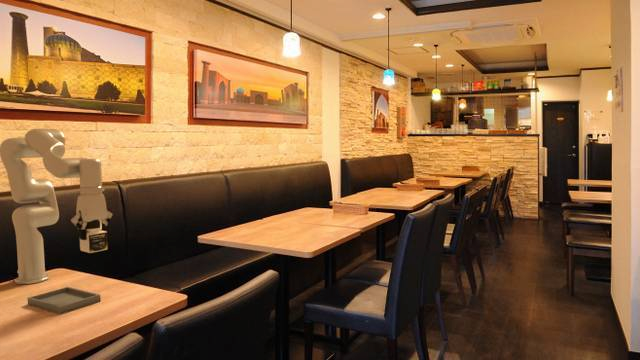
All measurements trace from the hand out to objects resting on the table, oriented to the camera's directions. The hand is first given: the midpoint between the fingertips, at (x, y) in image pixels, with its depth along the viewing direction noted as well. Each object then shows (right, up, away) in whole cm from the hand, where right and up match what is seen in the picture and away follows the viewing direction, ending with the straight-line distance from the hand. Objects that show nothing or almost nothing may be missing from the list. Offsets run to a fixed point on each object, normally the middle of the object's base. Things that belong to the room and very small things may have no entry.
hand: (93, 237), depth 180 cm
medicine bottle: (0, -5, 0) cm, 5 cm away
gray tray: (-6, -22, -9) cm, 25 cm away
